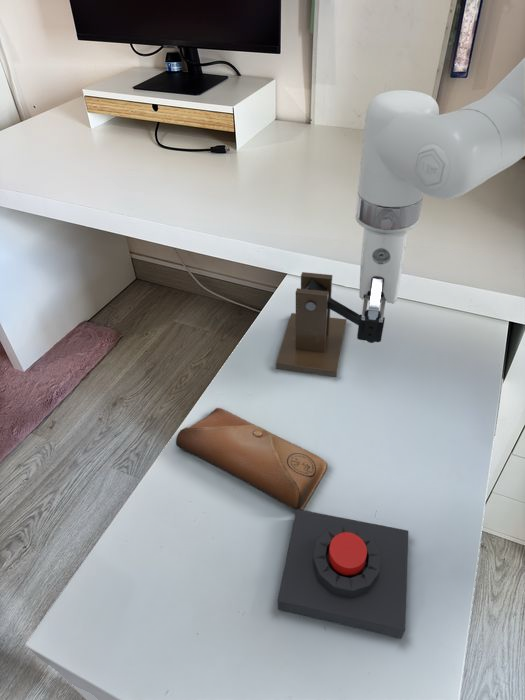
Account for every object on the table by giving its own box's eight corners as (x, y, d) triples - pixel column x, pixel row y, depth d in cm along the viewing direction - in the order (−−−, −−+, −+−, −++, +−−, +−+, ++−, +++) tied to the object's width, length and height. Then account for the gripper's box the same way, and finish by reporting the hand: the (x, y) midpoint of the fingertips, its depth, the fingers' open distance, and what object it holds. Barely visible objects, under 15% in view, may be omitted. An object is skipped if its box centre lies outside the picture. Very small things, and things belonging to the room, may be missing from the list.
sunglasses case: (332, 459, 62) (321, 451, 56) (309, 513, 61) (295, 511, 55) (214, 405, 69) (193, 393, 64) (191, 452, 68) (167, 444, 62)
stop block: (405, 540, 55) (411, 521, 52) (401, 639, 48) (408, 623, 45) (296, 518, 57) (296, 499, 54) (277, 609, 50) (276, 593, 47)
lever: (373, 324, 76) (382, 314, 74) (370, 346, 72) (380, 336, 71) (304, 284, 74) (313, 273, 72) (298, 305, 70) (306, 293, 69)
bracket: (346, 324, 82) (351, 262, 74) (336, 377, 73) (341, 313, 65) (291, 318, 83) (291, 257, 75) (275, 368, 75) (273, 305, 67)
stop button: (366, 544, 51) (368, 536, 50) (363, 579, 48) (365, 571, 47) (331, 537, 52) (332, 528, 50) (326, 571, 49) (326, 563, 48)
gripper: (419, 248, 53) (395, 362, 65) (421, 177, 66) (401, 284, 77) (348, 241, 55) (337, 354, 67) (363, 173, 67) (352, 279, 79)
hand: (371, 317), depth 72 cm, fingers open, 9 cm apart
